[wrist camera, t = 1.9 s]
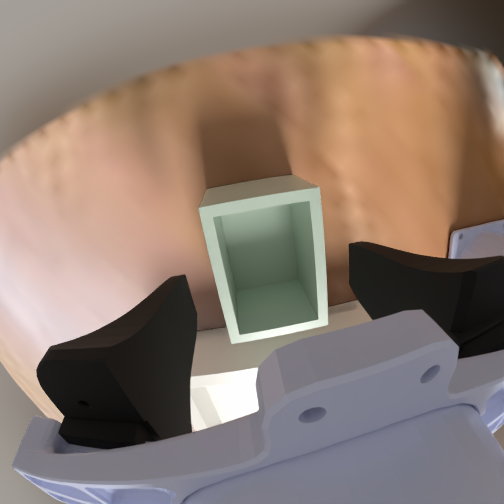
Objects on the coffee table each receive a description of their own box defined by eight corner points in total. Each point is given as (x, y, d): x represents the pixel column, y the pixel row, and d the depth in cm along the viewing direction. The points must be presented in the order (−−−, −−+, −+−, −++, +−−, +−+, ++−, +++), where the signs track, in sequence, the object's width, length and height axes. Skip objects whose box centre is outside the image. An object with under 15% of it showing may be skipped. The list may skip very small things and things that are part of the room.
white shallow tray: (364, 298, 20) (392, 333, 15) (351, 417, 25) (364, 448, 21) (175, 334, 19) (166, 378, 15) (224, 442, 25) (226, 476, 21)
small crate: (292, 174, 16) (319, 187, 11) (304, 280, 18) (328, 325, 14) (206, 189, 16) (198, 207, 11) (229, 295, 18) (231, 344, 14)
